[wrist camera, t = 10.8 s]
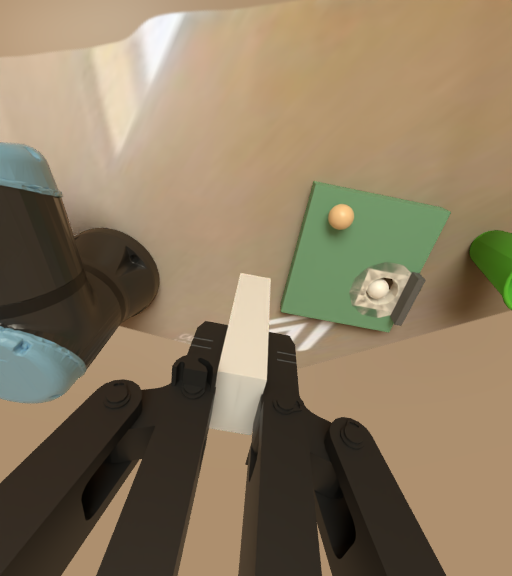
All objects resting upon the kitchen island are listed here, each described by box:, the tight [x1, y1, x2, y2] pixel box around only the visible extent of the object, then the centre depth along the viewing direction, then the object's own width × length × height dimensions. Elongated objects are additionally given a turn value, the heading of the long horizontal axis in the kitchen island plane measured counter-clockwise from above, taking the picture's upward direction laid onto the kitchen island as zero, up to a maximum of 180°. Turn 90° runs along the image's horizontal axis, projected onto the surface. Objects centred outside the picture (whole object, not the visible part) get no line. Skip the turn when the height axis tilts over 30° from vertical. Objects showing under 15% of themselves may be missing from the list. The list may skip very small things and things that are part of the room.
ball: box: [367, 278, 389, 299], centre depth 45 cm, size 3×3×3 cm
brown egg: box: [328, 204, 354, 230], centre depth 38 cm, size 3×3×3 cm
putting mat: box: [281, 181, 451, 332], centre depth 43 cm, size 19×20×5 cm
